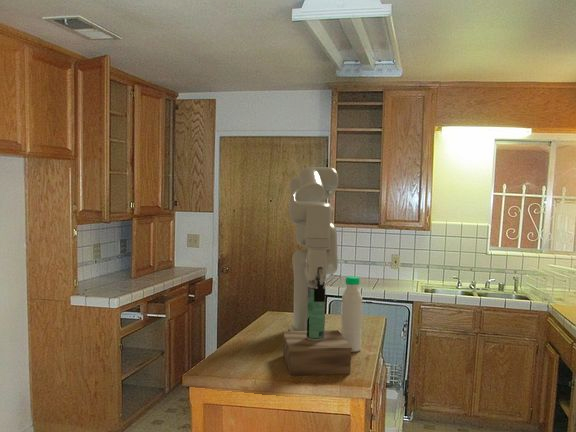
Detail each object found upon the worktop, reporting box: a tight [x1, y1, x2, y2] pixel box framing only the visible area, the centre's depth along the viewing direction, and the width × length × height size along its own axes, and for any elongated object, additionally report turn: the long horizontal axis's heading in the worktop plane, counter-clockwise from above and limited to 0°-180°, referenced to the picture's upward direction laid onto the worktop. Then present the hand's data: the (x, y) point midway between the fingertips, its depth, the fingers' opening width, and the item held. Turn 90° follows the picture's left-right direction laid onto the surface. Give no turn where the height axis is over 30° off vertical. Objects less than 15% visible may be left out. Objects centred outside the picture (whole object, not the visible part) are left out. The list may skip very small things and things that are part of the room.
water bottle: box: [340, 275, 363, 353], centre depth 173 cm, size 7×7×25 cm
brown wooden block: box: [282, 329, 352, 376], centre depth 158 cm, size 19×19×8 cm
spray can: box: [307, 280, 326, 341], centre depth 157 cm, size 6×6×20 cm
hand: (316, 297), depth 157 cm, fingers open, 9 cm apart
